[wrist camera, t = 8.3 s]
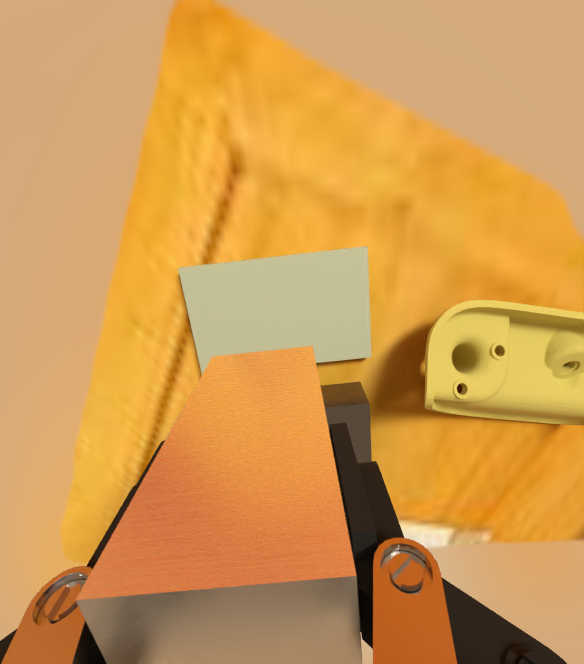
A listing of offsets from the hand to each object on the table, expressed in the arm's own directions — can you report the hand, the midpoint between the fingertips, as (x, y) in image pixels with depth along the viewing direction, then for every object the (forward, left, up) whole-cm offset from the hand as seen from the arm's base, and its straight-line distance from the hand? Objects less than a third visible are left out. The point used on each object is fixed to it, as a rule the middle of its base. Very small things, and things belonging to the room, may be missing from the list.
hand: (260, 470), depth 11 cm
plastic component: (-21, +7, -20) cm, 30 cm away
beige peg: (0, 0, -5) cm, 5 cm away
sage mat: (0, 0, -20) cm, 20 cm away
